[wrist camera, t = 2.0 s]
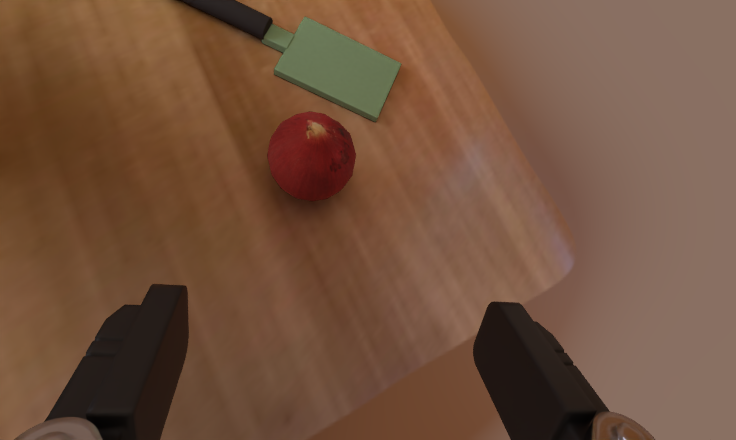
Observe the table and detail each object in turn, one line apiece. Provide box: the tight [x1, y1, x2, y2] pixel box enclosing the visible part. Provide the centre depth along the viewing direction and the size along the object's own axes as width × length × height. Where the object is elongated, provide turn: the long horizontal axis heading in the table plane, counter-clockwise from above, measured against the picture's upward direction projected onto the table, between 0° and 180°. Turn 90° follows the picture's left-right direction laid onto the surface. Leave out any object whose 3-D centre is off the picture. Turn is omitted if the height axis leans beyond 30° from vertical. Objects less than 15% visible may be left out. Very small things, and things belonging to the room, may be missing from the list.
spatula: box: [181, 0, 401, 122], centre depth 34 cm, size 22×6×2 cm, turn 69°
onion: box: [267, 112, 356, 201], centre depth 28 cm, size 6×6×8 cm
